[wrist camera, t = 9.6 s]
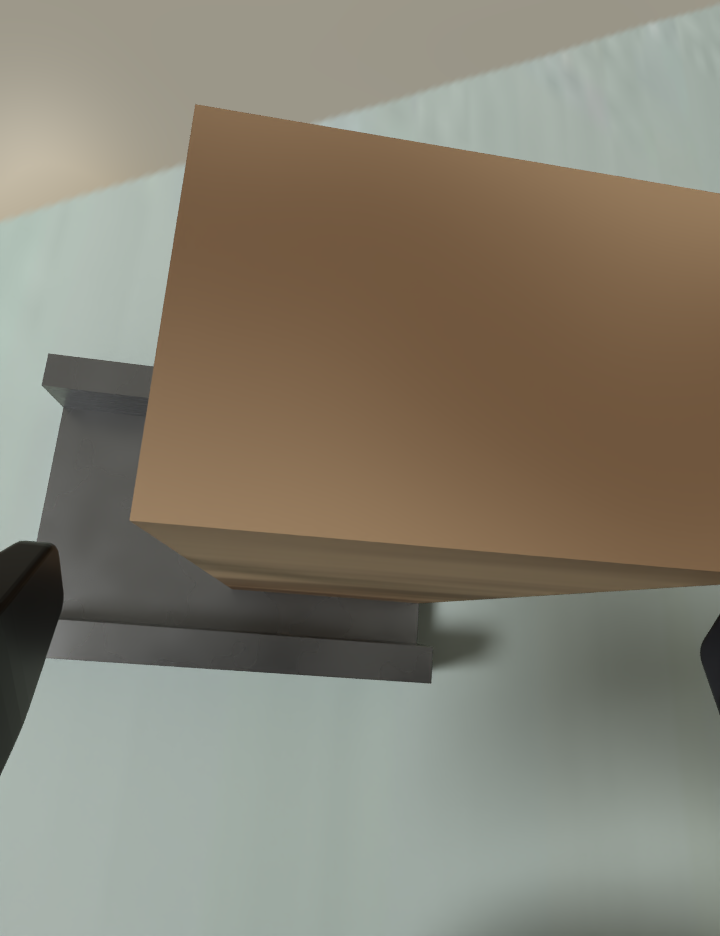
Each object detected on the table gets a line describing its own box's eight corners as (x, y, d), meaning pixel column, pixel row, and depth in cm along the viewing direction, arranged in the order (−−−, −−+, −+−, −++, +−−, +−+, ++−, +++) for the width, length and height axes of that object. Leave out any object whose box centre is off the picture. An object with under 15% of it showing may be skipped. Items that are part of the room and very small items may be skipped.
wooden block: (418, 603, 20) (803, 580, 6) (231, 589, 19) (128, 520, 5) (424, 483, 21) (766, 201, 7) (246, 465, 20) (194, 104, 6)
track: (422, 427, 22) (443, 402, 20) (409, 674, 20) (431, 683, 18) (76, 387, 21) (48, 353, 18) (25, 648, 19) (-15, 654, 16)
